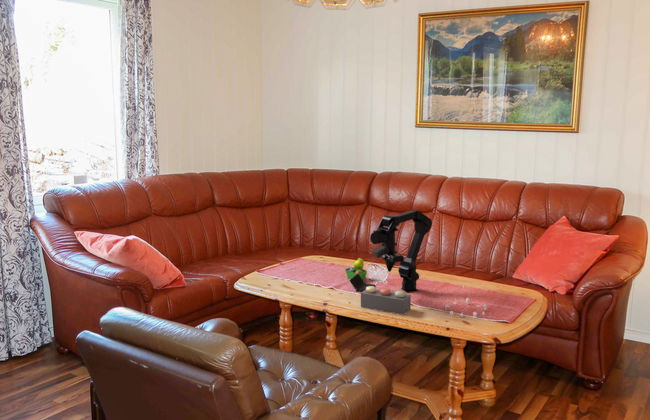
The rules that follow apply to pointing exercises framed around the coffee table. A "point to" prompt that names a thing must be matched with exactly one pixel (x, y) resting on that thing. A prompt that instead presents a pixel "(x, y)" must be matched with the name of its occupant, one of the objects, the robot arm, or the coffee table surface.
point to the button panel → (386, 302)
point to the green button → (400, 294)
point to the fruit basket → (356, 270)
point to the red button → (385, 291)
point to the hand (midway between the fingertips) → (389, 271)
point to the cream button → (371, 289)
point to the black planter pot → (359, 283)
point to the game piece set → (467, 303)
